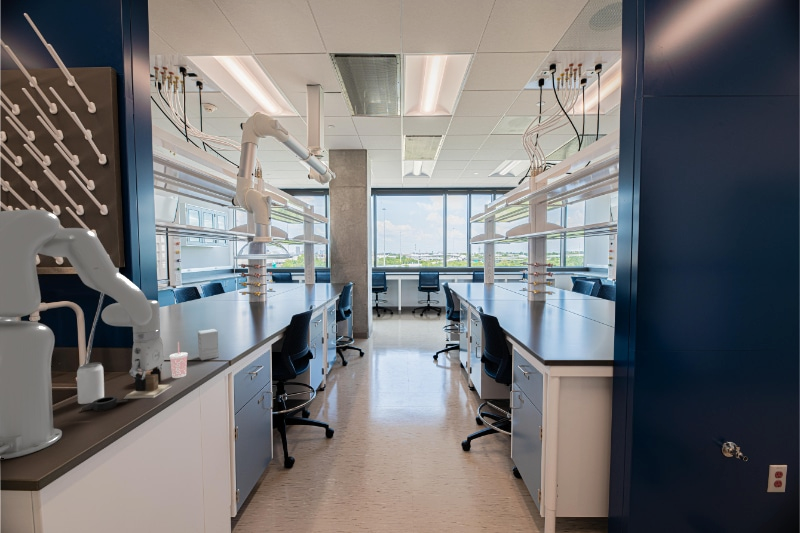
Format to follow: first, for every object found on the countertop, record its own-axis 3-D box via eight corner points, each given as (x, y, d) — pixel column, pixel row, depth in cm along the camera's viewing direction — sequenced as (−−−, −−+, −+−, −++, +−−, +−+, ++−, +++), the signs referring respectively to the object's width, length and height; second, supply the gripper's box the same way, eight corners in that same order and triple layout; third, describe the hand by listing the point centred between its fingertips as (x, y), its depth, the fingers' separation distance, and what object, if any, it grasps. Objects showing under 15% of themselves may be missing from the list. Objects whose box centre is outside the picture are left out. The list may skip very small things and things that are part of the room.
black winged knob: (101, 403, 111) (100, 394, 111) (130, 403, 111) (130, 394, 110) (78, 414, 103) (77, 405, 103) (109, 414, 103) (109, 405, 103)
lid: (153, 396, 114) (153, 379, 114) (125, 397, 114) (125, 380, 113) (170, 386, 123) (169, 370, 123) (144, 387, 123) (143, 371, 122)
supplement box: (215, 354, 165) (214, 328, 165) (218, 357, 160) (218, 330, 159) (198, 357, 161) (197, 330, 160) (200, 360, 155) (200, 333, 155)
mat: (154, 398, 114) (154, 397, 114) (123, 399, 113) (123, 398, 113) (172, 387, 124) (172, 386, 124) (143, 388, 123) (143, 386, 123)
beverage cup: (167, 380, 131) (166, 344, 130) (173, 374, 137) (172, 340, 136) (185, 378, 132) (184, 343, 132) (190, 373, 138) (189, 339, 138)
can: (88, 405, 109) (87, 368, 108) (72, 404, 110) (71, 367, 109) (109, 397, 115) (108, 362, 114) (94, 396, 116) (92, 361, 116)
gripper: (140, 342, 109) (142, 396, 110) (173, 330, 127) (174, 377, 127) (116, 342, 109) (118, 397, 109) (152, 330, 126) (153, 377, 127)
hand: (148, 385), depth 118 cm, fingers open, 7 cm apart
